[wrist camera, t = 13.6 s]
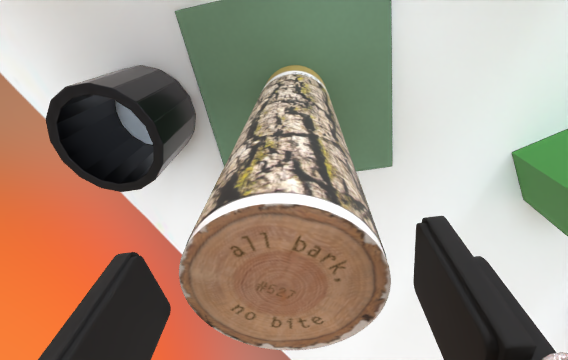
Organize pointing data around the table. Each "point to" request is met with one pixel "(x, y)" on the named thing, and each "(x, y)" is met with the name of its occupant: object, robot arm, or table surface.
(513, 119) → the table surface
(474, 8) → the table surface
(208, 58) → the mat
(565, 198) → the hardback book
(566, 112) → the table surface
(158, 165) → the pen pot
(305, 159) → the paper tube
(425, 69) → the table surface
